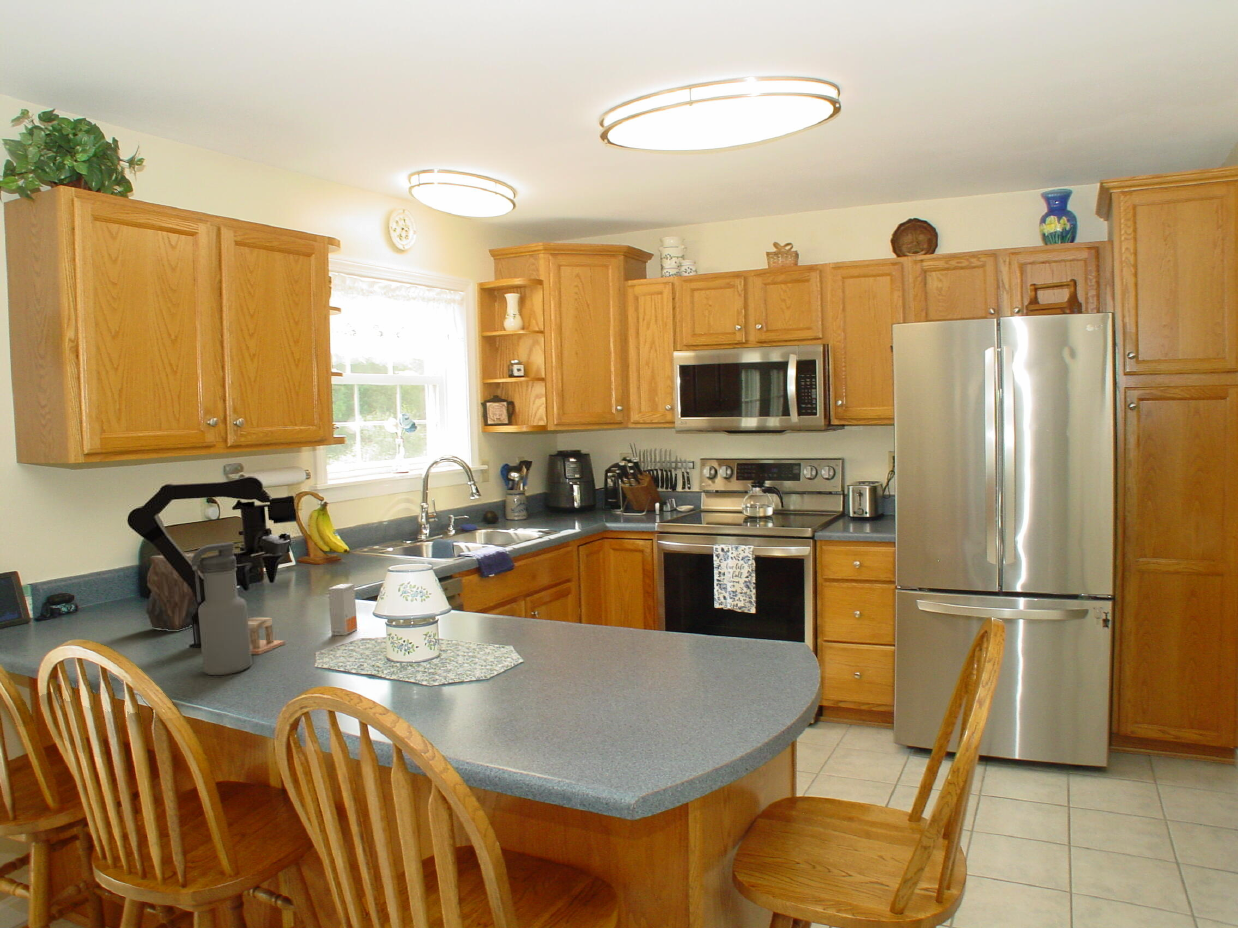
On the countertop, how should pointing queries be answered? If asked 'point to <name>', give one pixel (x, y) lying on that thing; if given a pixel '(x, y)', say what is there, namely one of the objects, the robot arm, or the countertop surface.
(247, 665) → the water bottle
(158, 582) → the tree stump
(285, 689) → the countertop surface
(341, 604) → the skincare box
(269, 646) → the trivet
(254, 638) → the birch stool
